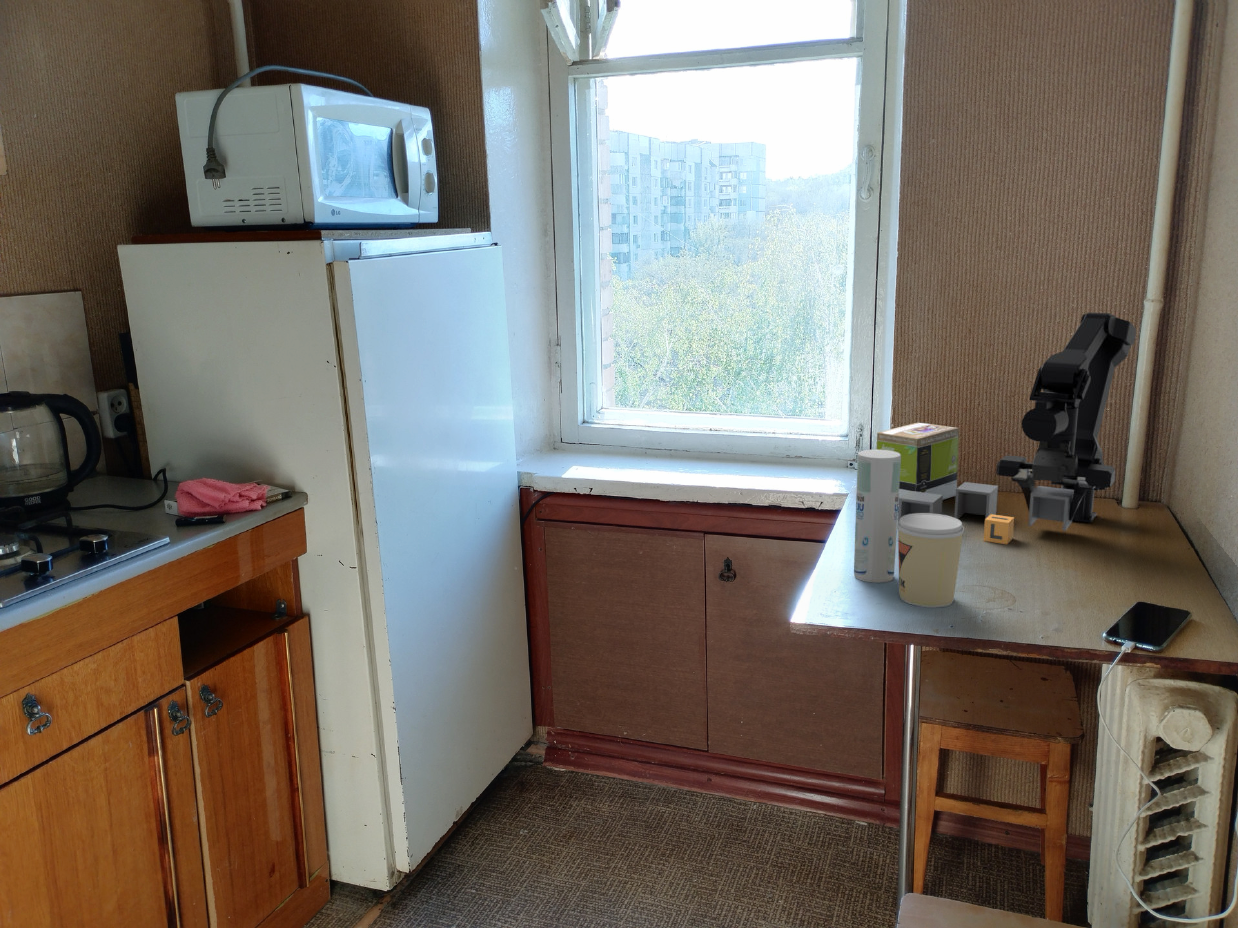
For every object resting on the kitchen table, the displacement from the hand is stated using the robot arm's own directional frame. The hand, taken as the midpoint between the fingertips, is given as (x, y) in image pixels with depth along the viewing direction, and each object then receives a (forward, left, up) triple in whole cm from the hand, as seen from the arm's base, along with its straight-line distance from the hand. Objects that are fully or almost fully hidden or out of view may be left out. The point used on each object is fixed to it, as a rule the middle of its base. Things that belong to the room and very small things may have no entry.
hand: (1050, 517), depth 174 cm
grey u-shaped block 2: (+8, -21, -3) cm, 23 cm away
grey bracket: (0, 0, -1) cm, 1 cm away
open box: (-4, -14, -3) cm, 15 cm away
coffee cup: (+43, -9, -3) cm, 44 cm away
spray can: (+38, -19, -3) cm, 43 cm away
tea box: (-12, -28, -3) cm, 31 cm away
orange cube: (+8, -7, -3) cm, 11 cm away
